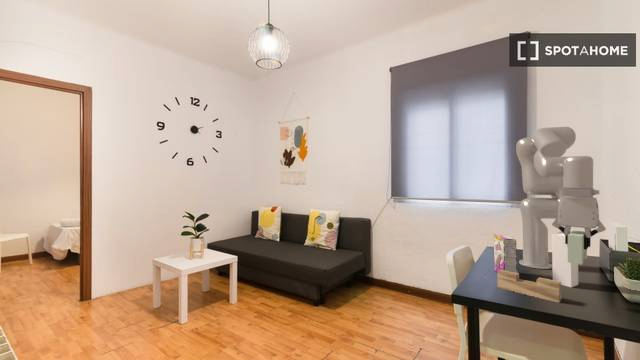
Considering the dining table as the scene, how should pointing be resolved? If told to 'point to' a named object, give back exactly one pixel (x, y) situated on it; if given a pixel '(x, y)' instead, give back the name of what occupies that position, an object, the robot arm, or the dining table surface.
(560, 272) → the milk
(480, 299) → the dining table surface
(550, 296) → the oak rail
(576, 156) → the robot arm
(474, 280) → the dining table surface
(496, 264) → the candy bar box
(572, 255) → the pale green rectangular block
